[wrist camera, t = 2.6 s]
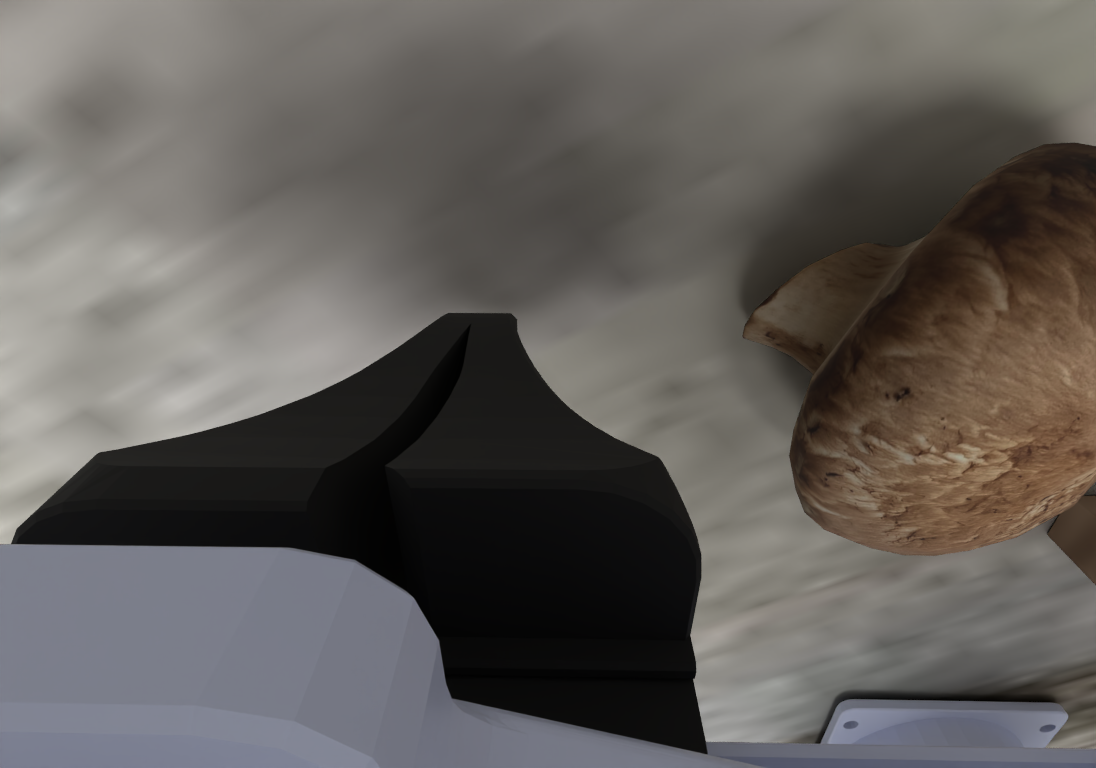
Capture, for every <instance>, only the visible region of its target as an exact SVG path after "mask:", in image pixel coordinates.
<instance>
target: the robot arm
mask: <svg viewBox="0 0 1096 768" xmlns="http://www.w3.org/2000/svg"><path fill="white" fill-rule="evenodd" d="M700 582H701V551H700V548H699V544H698V539H697V536H696V533H695V530H694V527H693V524H692V522H691V519H690V517H689V515H688V512H687V510H686V508H685V505H684V503H683V501H682V499H681V497H680V495H679V492H678V490H677V488H676V486H675V484H674V482H673V481H672V479H671V477H670V475H669V473H668V471H667V469H666V468H665V466H664V464H663V462H662V461H661V460H660V458H659V457H657V456H654V455H652V454H650V453H647V452H645V451H643V450H640V449H638V448H636V447H634V446H631V445H629V444H627V443H624V442H622V441H620V440H618V439H616V438H614V437H612V436H610V435H609V434H607V433H605V432H603V431H602V430H600V429H598V428H597V427H595V426H593V425H592V424H590V423H589V422H587V421H586V420H584V419H583V418H582V417H580V416H579V415H578V414H577V413H575V412H574V411H573V410H572V409H570V408H569V407H568V406H567V405H566V404H565V403H564V402H563V401H562V400H561V399H560V398H559V397H558V396H557V395H556V394H555V393H554V392H553V391H552V390H551V388H550V387H549V386H548V385H547V383H546V382H545V381H544V380H543V378H542V377H541V375H540V374H539V372H538V371H537V370H536V368H535V367H534V365H533V363H532V362H531V360H530V358H529V356H528V354H527V353H526V351H525V349H524V347H523V345H522V342H521V340H520V338H519V335H518V332H517V319H516V318H515V317H514V316H513V315H512V314H511V313H448V314H446V315H444V316H442V317H440V318H439V319H437V320H436V321H435V322H433V323H432V324H430V325H429V326H428V327H426V328H425V329H423V330H422V331H421V332H419V333H418V334H416V335H415V336H414V337H412V338H411V339H409V340H408V341H406V342H405V343H404V344H402V345H401V346H399V347H398V348H396V349H395V350H393V351H392V352H390V353H389V354H387V355H385V356H384V357H382V358H381V359H379V360H377V361H376V362H374V363H373V364H371V365H369V366H368V367H366V368H364V369H363V370H361V371H359V372H358V373H356V374H354V375H352V376H350V377H348V378H346V379H345V380H343V381H341V382H339V383H336V384H334V385H332V386H330V387H328V388H326V389H324V390H322V391H320V392H317V393H315V394H313V395H311V396H308V397H305V398H303V399H300V400H298V401H295V402H292V403H290V404H287V405H284V406H282V407H279V408H276V409H274V410H271V411H268V412H266V413H263V414H260V415H257V416H254V417H251V418H247V419H244V420H241V421H238V422H234V423H231V424H228V425H224V426H220V427H216V428H213V429H209V430H205V431H202V432H198V433H194V434H189V435H185V436H181V437H177V438H172V439H167V440H162V441H157V442H152V443H147V444H142V445H137V446H132V447H127V448H123V449H118V450H112V451H106V452H100V453H98V454H97V455H95V456H94V457H93V458H92V459H91V460H90V461H89V462H88V463H87V464H86V465H85V466H84V467H83V468H81V469H80V470H79V471H78V472H77V473H76V474H75V475H74V476H73V477H72V478H71V479H70V480H69V481H68V482H66V483H65V484H64V485H63V486H62V487H61V488H60V489H59V490H58V491H57V492H56V493H55V494H54V495H53V496H51V497H50V498H49V499H48V500H47V501H46V502H45V503H44V504H43V505H42V506H41V507H40V508H39V509H37V510H36V511H35V512H34V513H33V514H32V515H31V516H30V517H29V518H28V519H27V520H26V521H25V522H24V523H22V524H21V525H20V526H19V527H18V528H17V530H16V532H15V535H14V538H13V540H12V543H11V544H0V768H1096V749H1079V748H1045V747H1046V745H1047V744H1048V743H1049V742H1050V741H1051V739H1052V738H1053V737H1054V736H1055V734H1056V733H1057V732H1058V731H1059V730H1060V728H1061V727H1062V726H1063V725H1064V724H1065V722H1066V721H1067V719H1068V714H1067V713H1066V711H1065V710H1064V709H1063V707H1062V706H1061V705H1059V704H1057V703H1052V702H995V701H936V700H877V699H849V700H845V701H843V702H841V703H839V705H838V706H837V707H836V710H835V712H834V714H833V716H832V719H831V721H830V723H829V725H828V727H827V730H826V732H825V734H824V736H823V739H822V741H821V743H820V744H805V743H750V742H706V741H705V736H704V731H703V726H702V722H701V717H700V712H699V707H698V702H697V697H696V692H695V687H694V682H693V679H695V675H696V661H695V656H694V651H693V646H692V642H691V637H690V633H691V628H692V623H693V618H694V613H695V607H696V602H697V597H698V592H699V587H700Z"/></svg>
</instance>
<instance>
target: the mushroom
mask: <svg viewBox="0 0 1096 768" xmlns="http://www.w3.org/2000/svg"><path fill="white" fill-rule="evenodd" d="M743 338H745V339H748V340H751V341H755V342H758V343H761V344H764V345H768V346H771V347H773V348H775V349H777V350H779V351H781V352H784V353H786V354H788V355H790V356H792V357H793V358H794V359H795V360H797V361H798V362H799V363H800V364H801V365H803V366H804V367H805V368H806V369H807V370H809V371H810V372H811V373H812V374H813V376H812V378H811V380H810V383H809V386H808V389H807V392H806V395H805V398H804V401H803V404H802V407H801V410H800V413H799V416H798V418H797V421H796V424H795V427H794V431H793V436H792V442H791V448H790V454H789V457H790V462H791V467H792V472H793V477H794V483H795V488H796V491H797V494H798V497H799V499H800V502H801V504H802V507H803V509H804V512H805V513H806V514H807V515H808V516H809V517H811V518H812V519H813V520H814V521H815V522H816V523H817V524H819V525H820V526H821V527H822V528H823V529H825V530H827V531H829V532H832V533H834V534H837V535H839V536H842V537H844V538H847V539H849V540H852V541H854V542H856V543H859V544H862V545H865V546H867V547H870V548H873V549H878V550H883V551H887V552H892V553H897V554H901V555H926V556H935V555H942V554H948V553H955V552H962V551H969V550H972V549H976V548H980V547H983V546H987V545H990V544H994V543H998V542H1001V541H1005V540H1008V539H1012V538H1015V537H1018V536H1020V535H1021V534H1023V533H1025V532H1027V531H1029V530H1031V529H1033V528H1034V527H1036V526H1038V525H1040V524H1042V523H1044V522H1046V521H1047V520H1049V519H1051V518H1053V517H1055V516H1057V515H1058V514H1060V513H1062V512H1064V511H1066V510H1068V509H1070V508H1071V507H1073V506H1074V505H1075V504H1076V503H1077V502H1078V501H1079V499H1080V498H1081V497H1082V496H1083V495H1084V494H1085V493H1086V492H1087V491H1088V489H1089V488H1090V487H1091V486H1092V485H1093V484H1094V483H1095V482H1096V146H1091V145H1085V144H1079V143H1060V144H1044V145H1042V146H1039V147H1037V148H1034V149H1032V150H1030V151H1027V152H1025V153H1023V154H1020V155H1018V156H1015V157H1014V158H1012V159H1011V160H1009V161H1008V162H1006V163H1005V164H1004V165H1002V166H1001V167H999V168H998V169H996V170H995V171H994V172H992V173H991V174H989V175H988V176H986V177H985V178H984V179H982V180H981V181H979V182H978V183H976V184H975V185H973V186H972V188H971V189H970V190H969V191H968V192H967V193H966V194H965V195H964V196H963V197H962V198H961V199H960V200H959V202H958V203H957V204H956V205H955V206H954V207H953V208H952V209H951V210H950V211H949V212H948V213H947V214H946V216H945V217H944V218H943V219H942V220H941V221H940V222H939V223H938V224H937V225H936V226H935V227H934V228H933V230H932V231H931V232H930V233H929V234H928V235H926V236H925V237H923V238H921V239H918V240H916V241H914V242H912V243H910V244H907V245H905V246H900V247H894V246H889V245H883V244H871V243H862V244H859V245H856V246H853V247H849V248H846V249H843V250H840V251H838V252H836V253H834V254H832V255H830V256H828V257H825V258H823V259H821V260H819V261H817V262H815V263H813V264H811V265H809V266H807V267H806V268H804V269H803V270H802V271H800V272H799V273H798V274H796V275H795V276H794V277H792V278H791V279H790V280H789V281H787V282H786V283H785V284H783V285H782V286H781V287H779V288H778V289H777V290H776V291H775V292H774V293H773V294H772V295H770V296H769V297H768V298H767V299H766V300H765V301H764V302H763V303H762V304H761V305H759V306H758V307H757V308H756V309H755V310H754V312H753V313H752V315H751V317H750V318H749V320H748V321H747V323H746V324H745V327H744V332H743Z"/></svg>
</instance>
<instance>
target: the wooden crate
mask: <svg viewBox="0 0 1096 768" xmlns="http://www.w3.org/2000/svg"><path fill="white" fill-rule="evenodd" d="M1047 535H1048V536H1049V537H1050V538H1051V539H1052V540H1053V541H1054V542H1055V543H1056V544H1057V545H1058V546H1059V547H1060V548H1061V550H1062V551H1063V552H1064V553H1065V554H1066V555H1067V556H1068V557H1069V558H1070V559H1071V560H1072V561H1073V562H1074V563H1075V564H1076V565H1077V566H1078V567H1079V568H1080V569H1081V570H1082V571H1083V572H1084V573H1085V574H1086V576H1087V577H1088V578H1089V579H1090V580H1091V581H1092V582H1093V583H1094V584H1095V585H1096V496H1082V497H1081V498H1080V499H1079V501H1078V502H1077V503H1076V504H1075V505H1074V506H1073V507H1071V508H1070V509H1068V510H1066V511H1064V512H1062V513H1060V515H1059V516H1058V518H1057V520H1056V521H1055V523H1054V524H1053V526H1052V528H1051V529H1050V531H1049V533H1048V534H1047Z"/></svg>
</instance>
